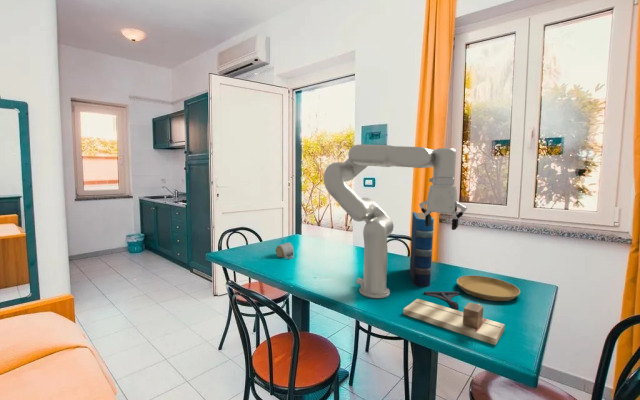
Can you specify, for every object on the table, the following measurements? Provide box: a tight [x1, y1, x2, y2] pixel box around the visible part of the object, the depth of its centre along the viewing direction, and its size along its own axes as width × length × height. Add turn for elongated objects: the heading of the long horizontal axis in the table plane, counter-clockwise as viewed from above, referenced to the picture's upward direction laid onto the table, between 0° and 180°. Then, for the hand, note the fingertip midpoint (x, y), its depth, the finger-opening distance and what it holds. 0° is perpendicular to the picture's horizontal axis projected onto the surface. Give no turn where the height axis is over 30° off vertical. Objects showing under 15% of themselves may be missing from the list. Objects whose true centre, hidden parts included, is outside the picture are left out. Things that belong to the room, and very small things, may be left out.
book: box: [409, 211, 435, 287], centre depth 152 cm, size 24×9×30 cm, turn 168°
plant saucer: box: [456, 275, 521, 302], centre depth 138 cm, size 24×24×3 cm
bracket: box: [423, 291, 460, 310], centre depth 128 cm, size 14×15×3 cm
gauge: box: [462, 301, 484, 329], centre depth 106 cm, size 4×9×6 cm, turn 139°
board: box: [402, 298, 506, 346], centre depth 111 cm, size 30×12×2 cm, turn 49°
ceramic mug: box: [275, 242, 295, 260], centre depth 185 cm, size 11×8×8 cm
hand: (440, 227), depth 121 cm, fingers open, 9 cm apart
